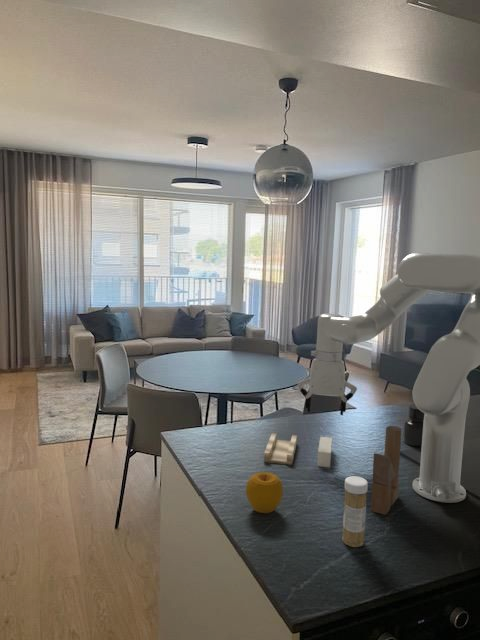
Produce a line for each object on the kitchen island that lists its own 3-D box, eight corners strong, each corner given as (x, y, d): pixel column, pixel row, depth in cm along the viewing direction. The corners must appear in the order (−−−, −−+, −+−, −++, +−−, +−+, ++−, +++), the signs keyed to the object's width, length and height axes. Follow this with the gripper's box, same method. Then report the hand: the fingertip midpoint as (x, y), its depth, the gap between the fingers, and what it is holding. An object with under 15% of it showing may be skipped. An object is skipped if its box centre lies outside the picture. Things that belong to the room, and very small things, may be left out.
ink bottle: (429, 438, 160) (431, 403, 159) (437, 448, 151) (440, 411, 150) (398, 437, 161) (401, 401, 160) (405, 447, 152) (407, 410, 151)
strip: (329, 468, 136) (330, 452, 136) (317, 466, 137) (317, 451, 136) (331, 451, 148) (332, 437, 147) (319, 450, 149) (320, 436, 148)
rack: (291, 464, 137) (292, 455, 137) (263, 461, 139) (264, 452, 139) (296, 444, 153) (296, 435, 153) (271, 441, 154) (271, 433, 154)
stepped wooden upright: (370, 511, 113) (374, 437, 110) (384, 493, 122) (388, 424, 119) (386, 516, 111) (390, 440, 108) (399, 497, 120) (403, 427, 117)
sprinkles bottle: (349, 533, 103) (352, 473, 102) (368, 541, 100) (372, 480, 99) (337, 542, 100) (340, 480, 98) (357, 551, 97) (360, 487, 95)
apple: (251, 523, 107) (252, 484, 106) (240, 504, 115) (241, 468, 114) (287, 517, 109) (288, 480, 108) (274, 499, 117) (275, 465, 116)
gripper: (298, 356, 140) (294, 413, 142) (359, 361, 136) (355, 419, 139) (300, 351, 147) (297, 405, 149) (358, 355, 144) (354, 411, 146)
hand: (325, 412), depth 144 cm, fingers open, 9 cm apart
